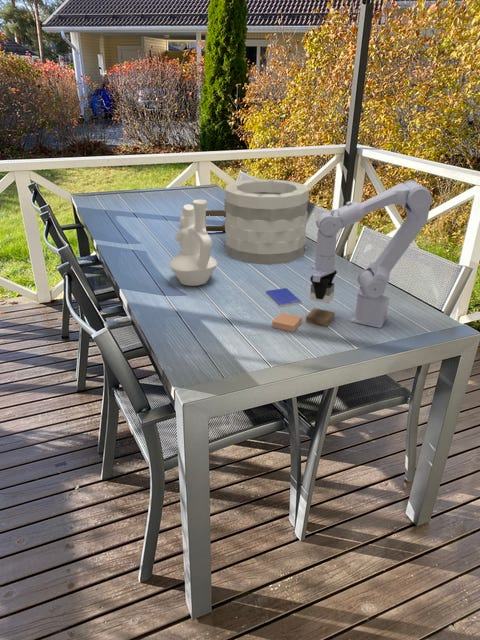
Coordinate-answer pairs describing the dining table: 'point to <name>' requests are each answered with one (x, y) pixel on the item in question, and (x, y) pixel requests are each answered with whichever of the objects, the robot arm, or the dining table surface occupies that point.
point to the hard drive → (283, 297)
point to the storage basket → (266, 221)
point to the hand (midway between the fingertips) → (322, 295)
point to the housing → (327, 296)
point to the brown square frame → (215, 213)
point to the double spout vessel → (193, 246)
